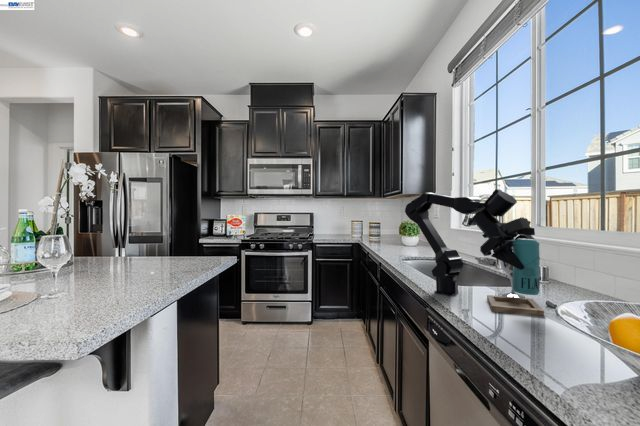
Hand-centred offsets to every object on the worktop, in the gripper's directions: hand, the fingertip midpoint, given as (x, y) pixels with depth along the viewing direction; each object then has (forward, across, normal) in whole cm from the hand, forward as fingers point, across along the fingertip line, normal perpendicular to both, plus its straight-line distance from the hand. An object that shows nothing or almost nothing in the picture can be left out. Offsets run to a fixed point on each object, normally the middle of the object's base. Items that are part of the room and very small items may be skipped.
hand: (529, 267), depth 80 cm
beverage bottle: (+5, 0, +7) cm, 9 cm away
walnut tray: (+5, +4, +14) cm, 16 cm away
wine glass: (0, +17, +20) cm, 26 cm away
